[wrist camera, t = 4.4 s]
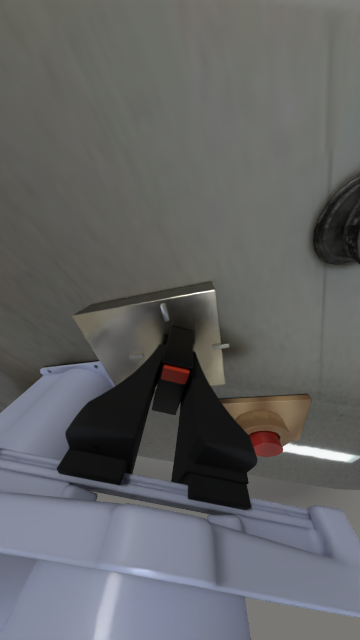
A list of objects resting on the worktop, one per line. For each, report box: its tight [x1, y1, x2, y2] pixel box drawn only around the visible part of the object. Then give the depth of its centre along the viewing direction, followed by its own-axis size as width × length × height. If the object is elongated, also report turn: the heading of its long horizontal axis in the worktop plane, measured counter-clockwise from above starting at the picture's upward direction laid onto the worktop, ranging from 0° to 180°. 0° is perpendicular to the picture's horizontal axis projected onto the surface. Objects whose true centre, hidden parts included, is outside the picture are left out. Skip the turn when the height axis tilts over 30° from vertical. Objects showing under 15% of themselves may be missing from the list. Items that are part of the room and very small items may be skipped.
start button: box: [249, 431, 283, 457], centre depth 18 cm, size 4×4×2 cm
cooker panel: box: [72, 282, 229, 390], centre depth 14 cm, size 13×10×3 cm
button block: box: [219, 395, 312, 447], centre depth 20 cm, size 12×10×2 cm
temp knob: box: [152, 326, 193, 415], centre depth 11 cm, size 5×2×4 cm, turn 167°
